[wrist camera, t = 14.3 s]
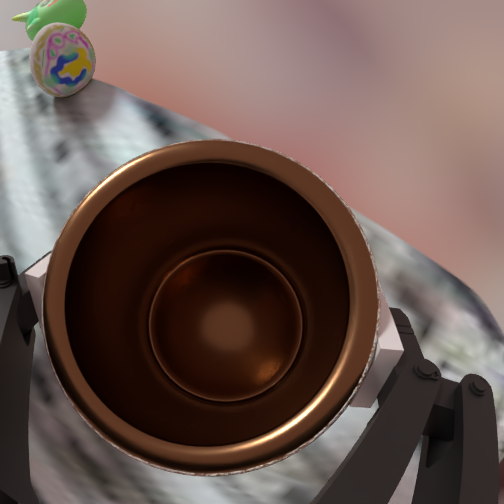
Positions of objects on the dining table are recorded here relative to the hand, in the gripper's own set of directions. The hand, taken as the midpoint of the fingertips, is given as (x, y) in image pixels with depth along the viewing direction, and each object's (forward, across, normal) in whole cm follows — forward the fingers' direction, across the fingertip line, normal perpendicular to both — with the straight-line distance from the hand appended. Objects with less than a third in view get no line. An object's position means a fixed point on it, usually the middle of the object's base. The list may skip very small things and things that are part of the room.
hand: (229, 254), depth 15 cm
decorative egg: (+38, -40, +11) cm, 56 cm away
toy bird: (+52, -58, +25) cm, 82 cm away
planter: (+1, 0, -5) cm, 5 cm away
